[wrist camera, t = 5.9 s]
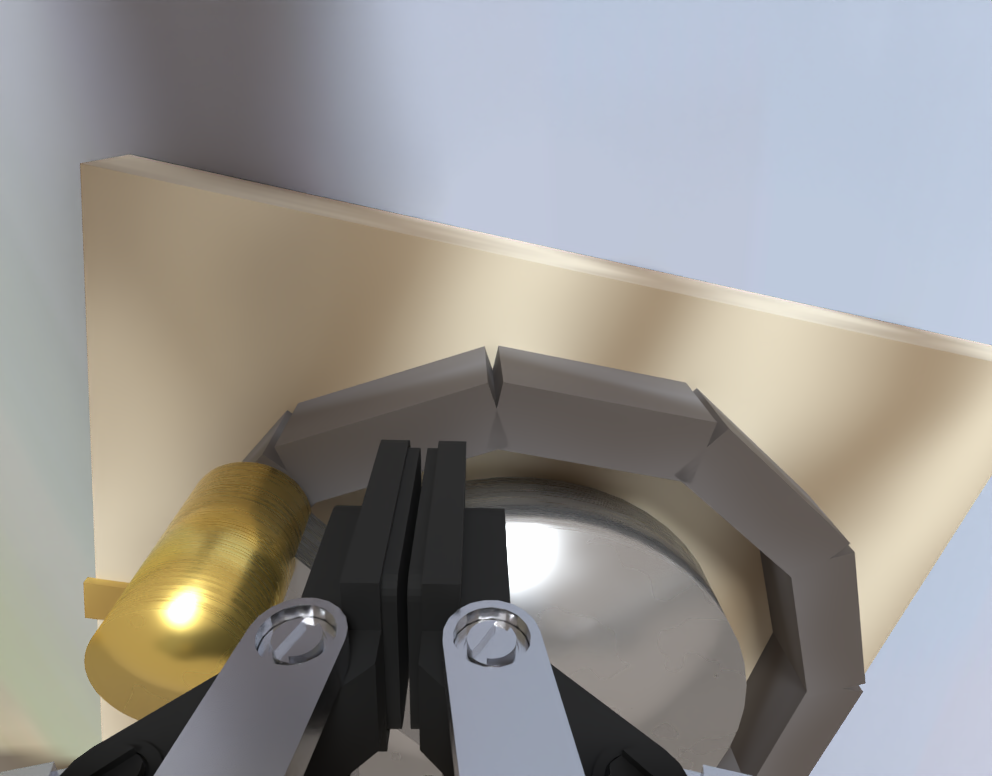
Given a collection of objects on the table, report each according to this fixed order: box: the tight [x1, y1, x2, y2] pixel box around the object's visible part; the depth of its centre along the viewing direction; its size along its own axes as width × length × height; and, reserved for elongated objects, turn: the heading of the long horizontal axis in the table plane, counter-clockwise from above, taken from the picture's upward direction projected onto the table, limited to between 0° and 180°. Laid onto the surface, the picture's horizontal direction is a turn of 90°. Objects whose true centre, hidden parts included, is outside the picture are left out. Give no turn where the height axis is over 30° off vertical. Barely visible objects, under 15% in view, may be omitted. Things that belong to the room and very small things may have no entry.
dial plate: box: [80, 154, 992, 776], centre depth 18 cm, size 22×22×4 cm
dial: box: [84, 462, 747, 776], centre depth 14 cm, size 16×12×6 cm
